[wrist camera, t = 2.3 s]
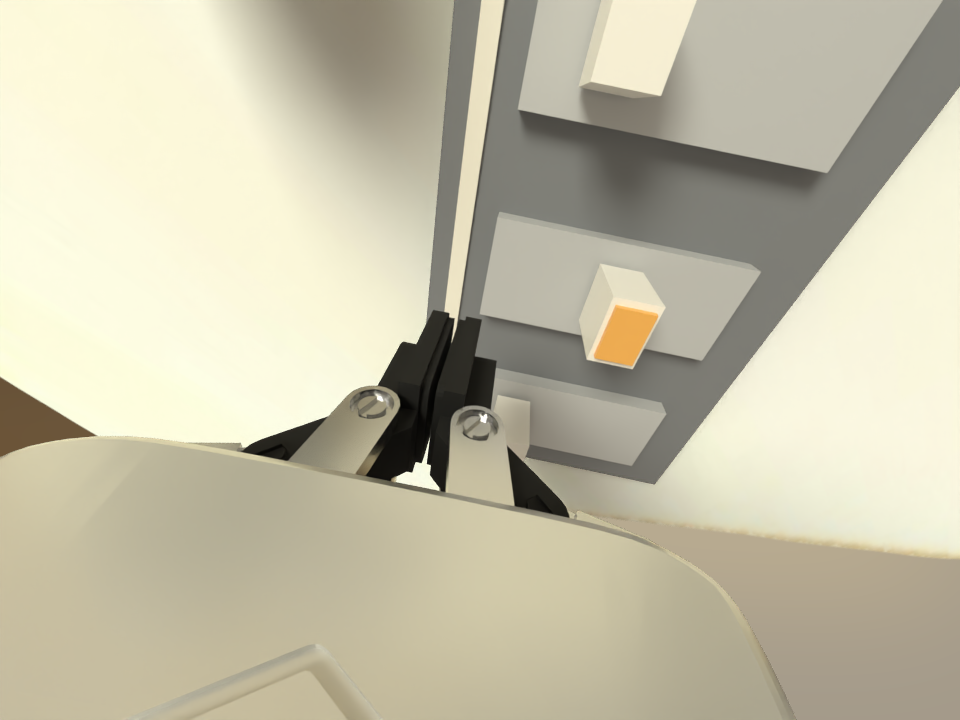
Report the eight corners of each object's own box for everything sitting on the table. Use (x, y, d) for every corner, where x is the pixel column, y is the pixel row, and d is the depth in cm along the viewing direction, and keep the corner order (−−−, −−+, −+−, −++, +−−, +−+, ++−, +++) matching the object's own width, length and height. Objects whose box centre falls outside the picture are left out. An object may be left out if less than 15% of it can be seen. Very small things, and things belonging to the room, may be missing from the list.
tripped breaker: (643, 272, 16) (667, 310, 13) (617, 328, 18) (633, 372, 15) (600, 263, 16) (614, 299, 13) (578, 319, 18) (587, 362, 15)
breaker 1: (530, 401, 22) (529, 446, 19) (518, 434, 23) (516, 480, 21) (497, 394, 22) (492, 438, 19) (489, 428, 23) (482, 472, 21)
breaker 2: (673, -21, 11) (720, -65, 8) (633, 98, 13) (661, 95, 10) (609, -34, 11) (635, -82, 8) (578, 87, 13) (590, 81, 10)
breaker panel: (1027, -78, 12) (1158, -127, 9) (647, 462, 28) (658, 496, 26) (483, -187, 12) (469, -264, 9) (423, 414, 28) (412, 444, 26)
